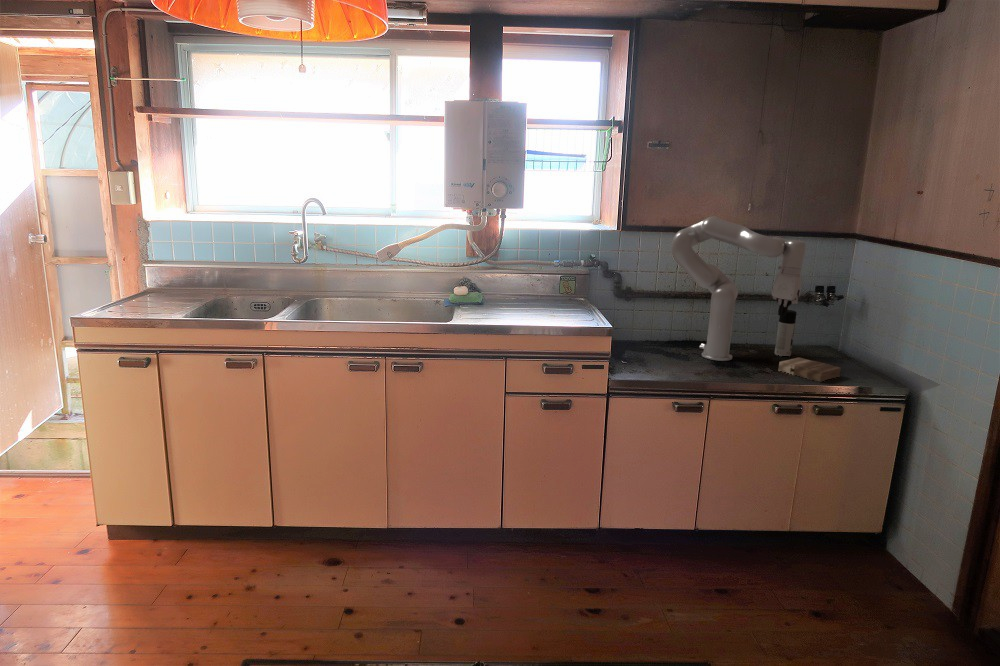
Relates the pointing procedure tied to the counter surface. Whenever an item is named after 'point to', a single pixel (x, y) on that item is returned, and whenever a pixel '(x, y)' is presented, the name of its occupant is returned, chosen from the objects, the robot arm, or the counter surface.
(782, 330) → the spray can
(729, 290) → the robot arm
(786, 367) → the maple plank
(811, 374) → the brown grooved flat slab
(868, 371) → the counter surface
